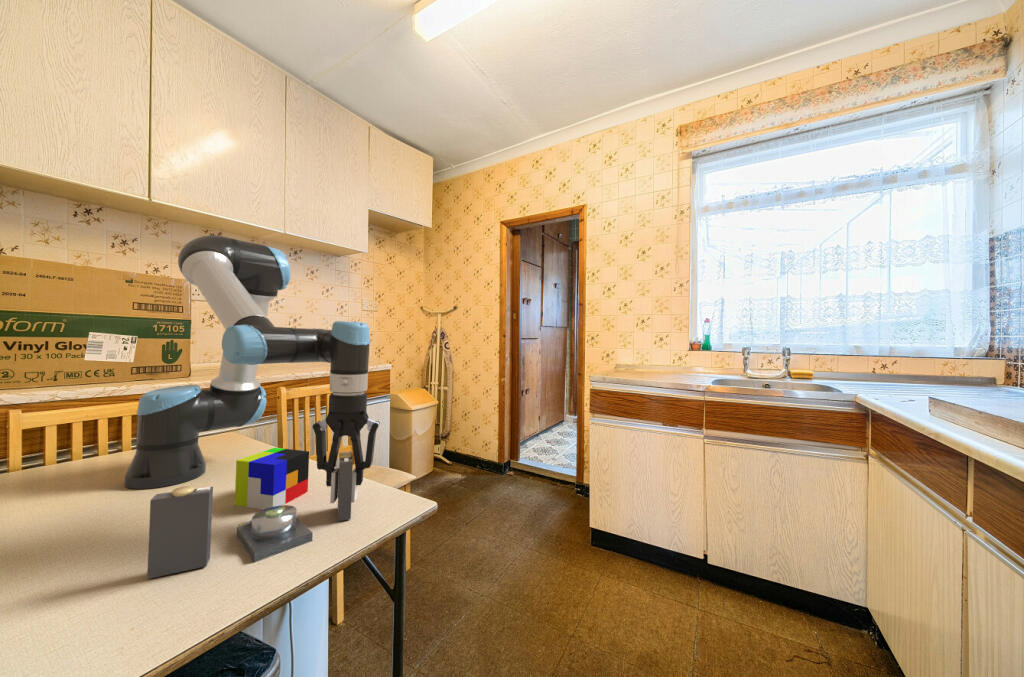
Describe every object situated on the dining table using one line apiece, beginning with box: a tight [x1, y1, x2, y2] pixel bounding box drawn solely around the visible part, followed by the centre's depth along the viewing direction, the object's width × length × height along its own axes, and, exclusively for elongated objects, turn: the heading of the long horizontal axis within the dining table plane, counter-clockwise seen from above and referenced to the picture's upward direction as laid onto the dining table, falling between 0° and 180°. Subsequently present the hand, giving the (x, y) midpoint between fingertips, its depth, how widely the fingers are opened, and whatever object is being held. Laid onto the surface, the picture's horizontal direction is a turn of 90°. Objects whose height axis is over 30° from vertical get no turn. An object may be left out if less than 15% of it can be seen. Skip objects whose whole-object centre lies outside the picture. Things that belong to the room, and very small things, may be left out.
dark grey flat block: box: [146, 485, 214, 580], centre depth 57 cm, size 7×3×13 cm, turn 119°
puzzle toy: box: [234, 447, 310, 510], centre depth 83 cm, size 10×10×10 cm
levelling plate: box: [235, 504, 313, 563], centre depth 67 cm, size 12×9×5 cm
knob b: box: [337, 451, 354, 522], centre depth 77 cm, size 7×3×13 cm, turn 27°
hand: (344, 499), depth 77 cm, fingers closed on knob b, 3 cm apart
